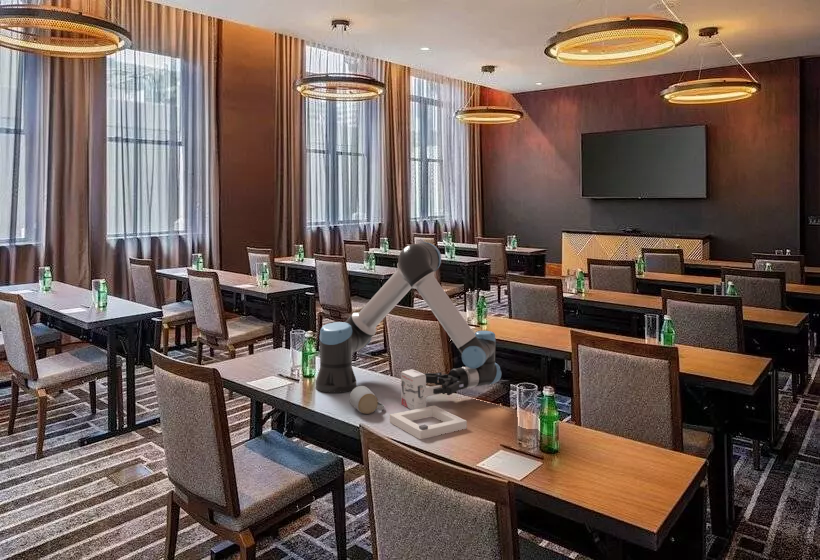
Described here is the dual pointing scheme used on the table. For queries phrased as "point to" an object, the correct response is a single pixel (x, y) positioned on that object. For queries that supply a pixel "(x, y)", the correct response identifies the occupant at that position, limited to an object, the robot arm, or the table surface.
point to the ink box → (413, 389)
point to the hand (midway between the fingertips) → (412, 387)
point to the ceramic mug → (364, 400)
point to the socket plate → (424, 431)
